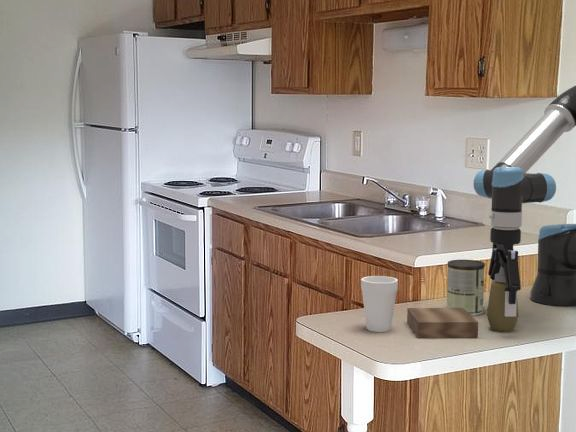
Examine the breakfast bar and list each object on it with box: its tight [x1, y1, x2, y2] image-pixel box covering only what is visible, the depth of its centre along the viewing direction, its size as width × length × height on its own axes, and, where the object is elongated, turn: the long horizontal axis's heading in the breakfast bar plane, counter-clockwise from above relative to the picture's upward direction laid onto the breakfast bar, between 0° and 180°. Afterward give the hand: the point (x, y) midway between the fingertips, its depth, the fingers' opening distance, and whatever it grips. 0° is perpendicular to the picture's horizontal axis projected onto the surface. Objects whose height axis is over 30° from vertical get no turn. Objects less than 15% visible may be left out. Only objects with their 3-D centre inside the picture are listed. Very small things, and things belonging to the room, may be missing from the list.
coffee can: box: [446, 259, 486, 317], centre depth 225 cm, size 10×10×14 cm
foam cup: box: [360, 275, 399, 333], centre depth 206 cm, size 10×9×13 cm
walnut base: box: [406, 307, 479, 339], centre depth 206 cm, size 15×15×4 cm
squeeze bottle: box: [486, 267, 519, 332], centre depth 206 cm, size 8×8×18 cm
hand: (502, 310), depth 206 cm, fingers open, 12 cm apart
